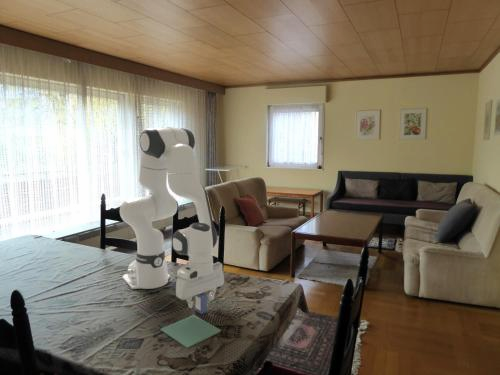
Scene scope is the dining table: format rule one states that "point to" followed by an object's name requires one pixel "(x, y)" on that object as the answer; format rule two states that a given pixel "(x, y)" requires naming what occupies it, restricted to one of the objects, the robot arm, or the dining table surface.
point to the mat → (190, 331)
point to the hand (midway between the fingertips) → (201, 303)
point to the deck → (201, 303)
